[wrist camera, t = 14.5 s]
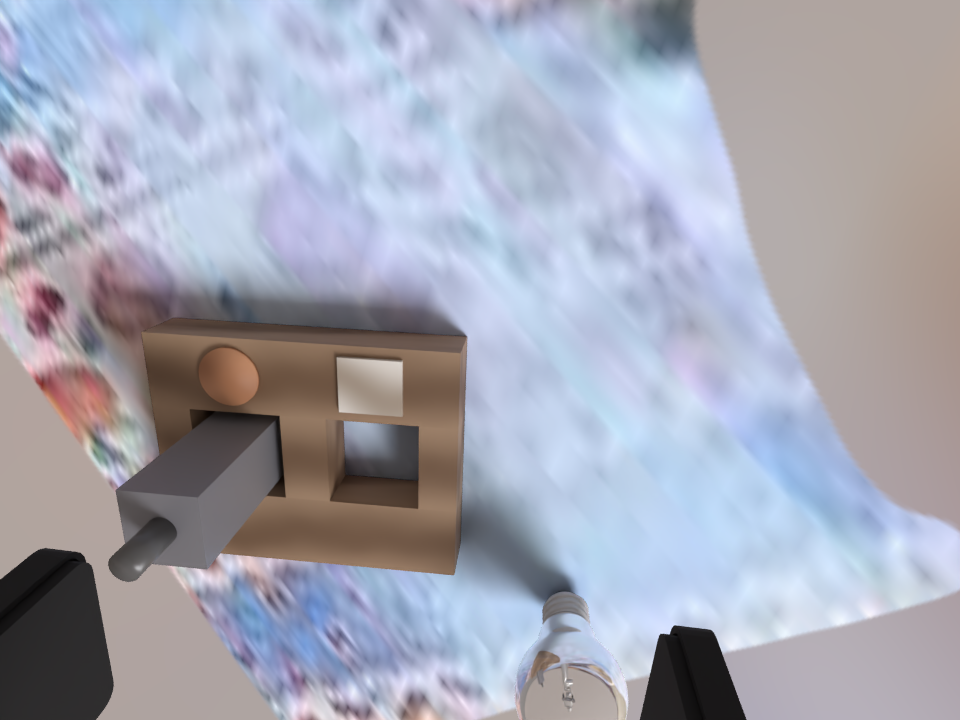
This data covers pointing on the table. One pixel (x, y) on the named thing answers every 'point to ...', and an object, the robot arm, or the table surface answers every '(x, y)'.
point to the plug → (197, 493)
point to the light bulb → (569, 669)
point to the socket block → (326, 432)
